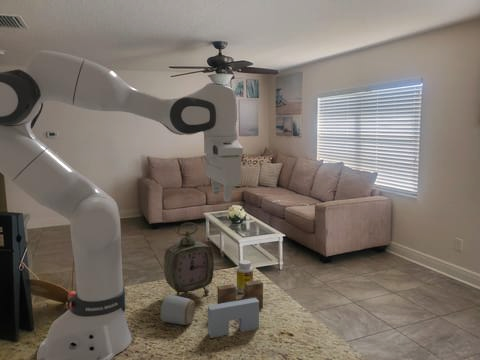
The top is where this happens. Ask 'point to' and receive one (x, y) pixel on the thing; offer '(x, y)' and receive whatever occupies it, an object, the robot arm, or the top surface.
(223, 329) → the slate board
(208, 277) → the tabletop clock
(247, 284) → the walnut board
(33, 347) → the top surface
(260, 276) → the top surface
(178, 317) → the ceramic mug
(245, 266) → the supplement bottle
